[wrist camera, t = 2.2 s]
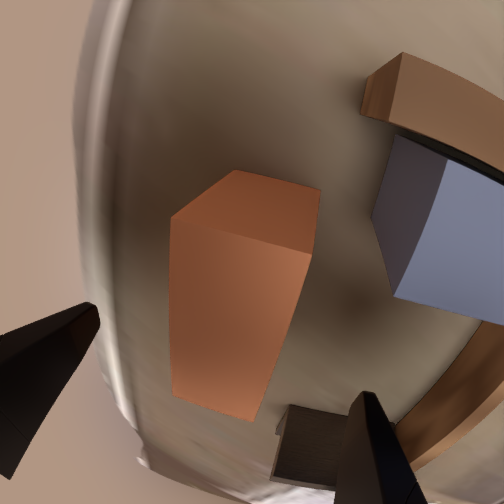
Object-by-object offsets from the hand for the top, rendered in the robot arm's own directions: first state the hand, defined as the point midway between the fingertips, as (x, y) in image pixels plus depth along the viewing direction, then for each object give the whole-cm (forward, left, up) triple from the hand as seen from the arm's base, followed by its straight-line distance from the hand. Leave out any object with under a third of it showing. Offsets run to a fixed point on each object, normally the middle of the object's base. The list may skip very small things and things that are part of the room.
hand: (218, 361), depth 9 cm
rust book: (0, 0, -6) cm, 6 cm away
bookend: (-12, -8, -6) cm, 15 cm away
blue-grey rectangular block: (+5, -8, -6) cm, 11 cm away
